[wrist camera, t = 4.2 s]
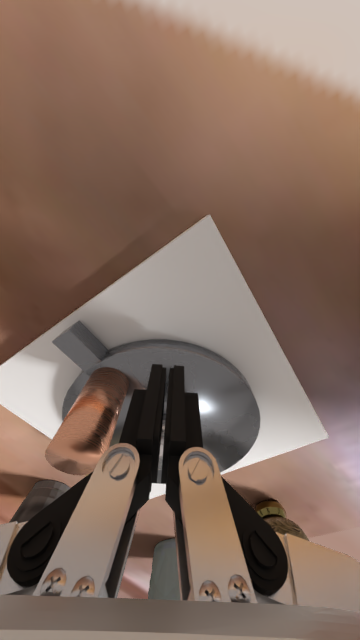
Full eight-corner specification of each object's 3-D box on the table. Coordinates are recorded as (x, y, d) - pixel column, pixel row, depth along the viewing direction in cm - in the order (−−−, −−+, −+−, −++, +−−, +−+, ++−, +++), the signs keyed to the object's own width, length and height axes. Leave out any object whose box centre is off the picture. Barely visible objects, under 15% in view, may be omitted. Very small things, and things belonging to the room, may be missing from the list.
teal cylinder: (222, 541, 30) (245, 721, 19) (201, 564, 34) (209, 722, 23) (156, 532, 29) (141, 718, 18) (142, 557, 33) (123, 720, 22)
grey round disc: (283, 433, 16) (329, 531, 11) (147, 484, 20) (134, 575, 15) (164, 259, 10) (148, 295, 5) (0, 375, 14) (-107, 465, 9)
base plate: (206, 215, 11) (223, 210, 7) (318, 421, 18) (362, 486, 14) (-10, 371, 16) (-84, 430, 12) (144, 485, 23) (136, 548, 19)
